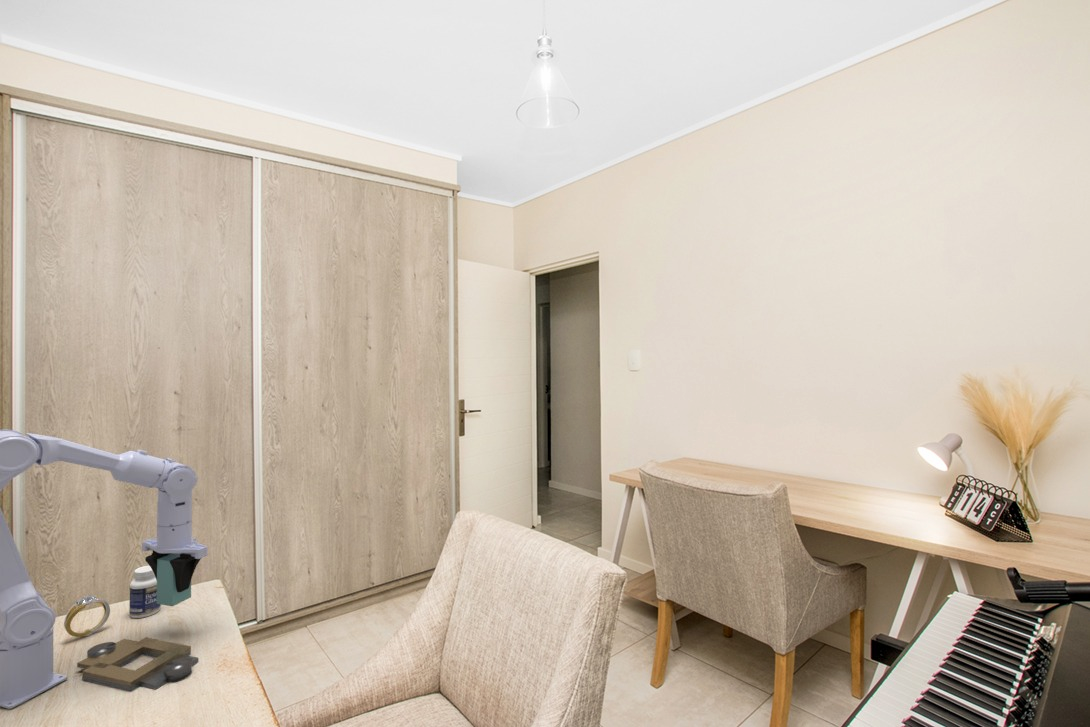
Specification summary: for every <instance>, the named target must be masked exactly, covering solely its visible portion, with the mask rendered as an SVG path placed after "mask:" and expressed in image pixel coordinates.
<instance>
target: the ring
mask: <svg viewBox="0 0 1090 727" xmlns="http://www.w3.org/2000/svg"><path fill="white" fill-rule="evenodd" d="M93 603H94V604H98V605H101V606H102V608H103V616H102V618H101V620H100V621H99V623H98V624H97V625H96V626H94V627H92V628H91V629H89V628H88V629H85V630H84V631H80V632H79V631H78V632H77V631H74V630H72V627H71V623H72V621H73V619H74V617H75V616H76V615H77V614H79V612H81V611H82V610H83V609H85V608H86V606H89V605H90V604H93ZM110 614H111V608H110V605H109V603H108V601H107V600H106V599H104V598H97V594H94V596H92V595H91V596H89V594H87V595H85V596H82V597H81V598H80V599H79V600H78V601H77V600H76V601H75V603H74V604H73V605H72V606H71V607H70V608H69V610H68V611H67V612H66V614H65V617H64V621H63V627H64V630H65V631H66V632H67V634H68V635H70V636H72V637H76V638H81V637H89V636H91V635H92V634H94V633H96V632H97V631H99V630H100V629H101V628H103V626H104V625H105V624H106V622H107V621H108V619H109V617H110Z"/></svg>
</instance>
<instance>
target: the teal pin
mask: <svg viewBox="0 0 1090 727" xmlns="http://www.w3.org/2000/svg"><path fill="white" fill-rule="evenodd" d="M177 557H180V555H179V554H169V555H167V556H164V557H162V558H159V559H157V604H161V606H166V607H167V606H168V607H174V606H176V605H179V604H180V603H183V602H184V601H186V600H188V599H191V598H192V581H191V582H190V586H189V588H188V589H186V590H184V591H182V592H177V589H176V582H175V574H174V570H173V568H172V566H171V564H170V560H172V559H175V558H177Z"/></svg>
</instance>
